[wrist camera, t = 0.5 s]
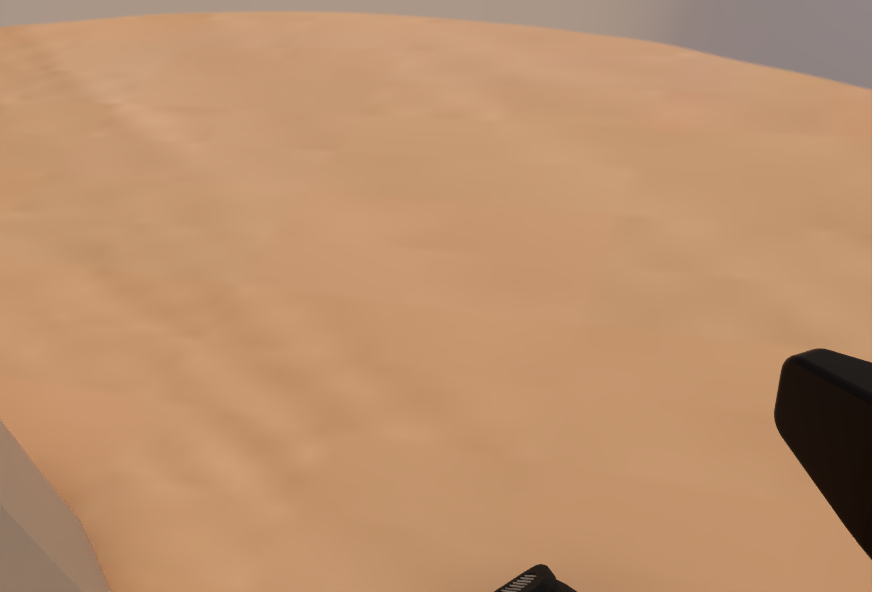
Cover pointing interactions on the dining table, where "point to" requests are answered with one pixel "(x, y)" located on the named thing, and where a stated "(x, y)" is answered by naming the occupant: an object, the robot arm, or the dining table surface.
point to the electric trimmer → (536, 582)
